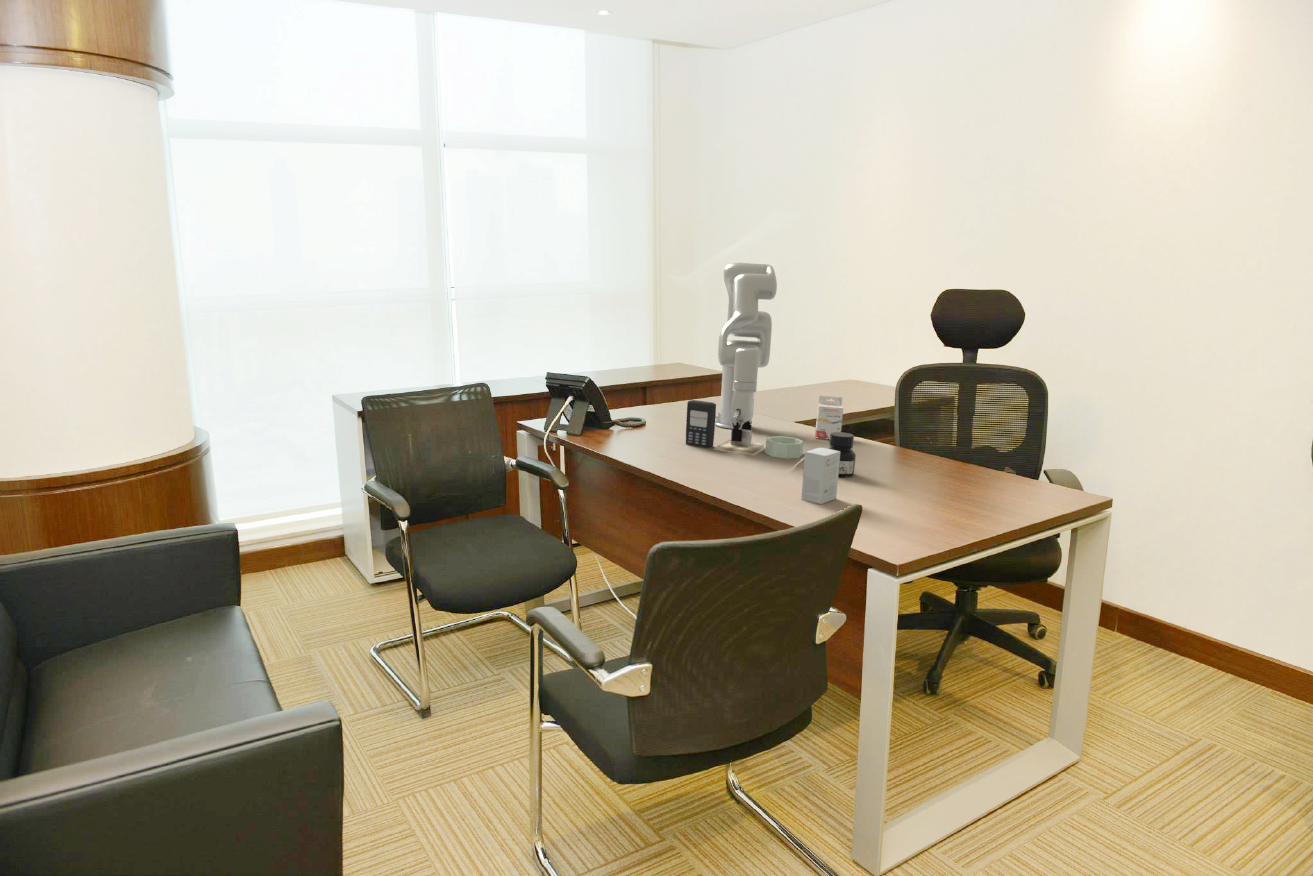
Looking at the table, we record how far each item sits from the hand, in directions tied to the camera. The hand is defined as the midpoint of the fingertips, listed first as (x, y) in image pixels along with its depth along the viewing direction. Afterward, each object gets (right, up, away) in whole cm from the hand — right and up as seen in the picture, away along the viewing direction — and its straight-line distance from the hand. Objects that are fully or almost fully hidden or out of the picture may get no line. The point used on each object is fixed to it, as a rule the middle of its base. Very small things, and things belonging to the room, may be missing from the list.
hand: (741, 438), depth 278 cm
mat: (0, -4, +1) cm, 4 cm away
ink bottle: (+26, -11, -25) cm, 38 cm away
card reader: (-14, -3, +3) cm, 14 cm away
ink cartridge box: (+33, 0, +26) cm, 42 cm away
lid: (0, -3, +1) cm, 3 cm away
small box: (+15, -16, -52) cm, 57 cm away
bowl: (+13, -5, -4) cm, 15 cm away
